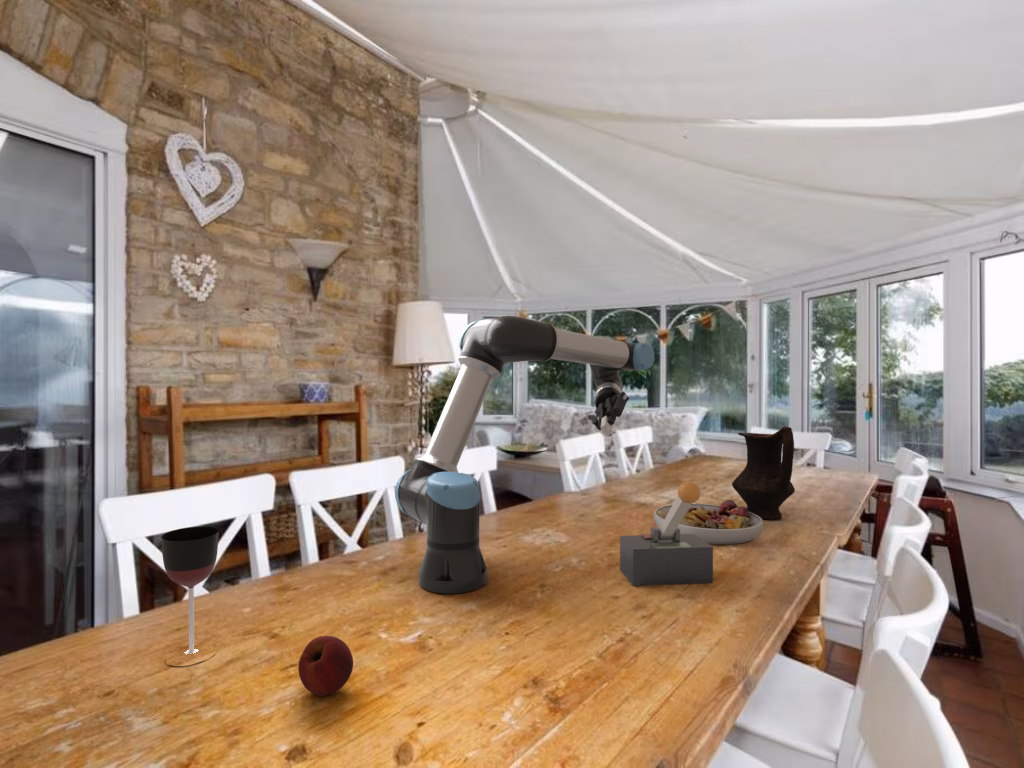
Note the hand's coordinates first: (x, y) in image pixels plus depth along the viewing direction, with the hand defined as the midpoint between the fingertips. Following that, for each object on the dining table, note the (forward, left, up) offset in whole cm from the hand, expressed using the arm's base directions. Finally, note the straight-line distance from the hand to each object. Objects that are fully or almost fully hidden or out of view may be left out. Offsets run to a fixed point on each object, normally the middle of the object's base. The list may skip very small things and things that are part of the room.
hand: (606, 430), depth 138 cm
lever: (+3, -15, -23) cm, 28 cm away
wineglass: (-89, +5, -32) cm, 95 cm away
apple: (-74, -18, -32) cm, 83 cm away
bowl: (+42, +1, -33) cm, 53 cm away
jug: (+71, 0, -32) cm, 78 cm away
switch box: (+3, -16, -32) cm, 36 cm away
